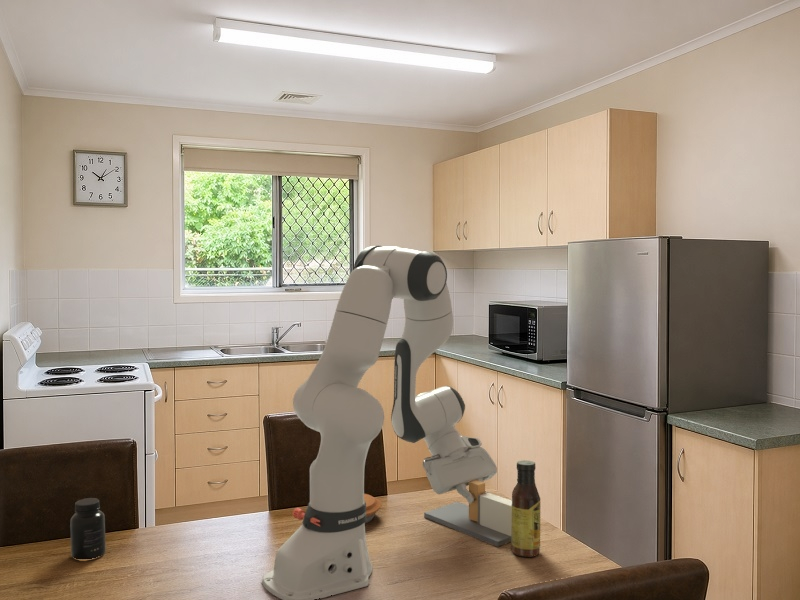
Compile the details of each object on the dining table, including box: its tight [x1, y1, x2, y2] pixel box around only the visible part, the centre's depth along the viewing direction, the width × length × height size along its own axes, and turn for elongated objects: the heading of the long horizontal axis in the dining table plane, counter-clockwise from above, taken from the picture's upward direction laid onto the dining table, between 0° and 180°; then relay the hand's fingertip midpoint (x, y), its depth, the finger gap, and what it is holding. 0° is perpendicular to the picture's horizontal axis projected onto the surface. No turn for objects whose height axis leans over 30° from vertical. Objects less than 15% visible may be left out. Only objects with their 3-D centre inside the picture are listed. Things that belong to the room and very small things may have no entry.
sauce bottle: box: [510, 459, 541, 558], centre depth 150 cm, size 7×6×20 cm
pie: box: [364, 493, 383, 524], centre depth 171 cm, size 15×16×5 cm
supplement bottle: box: [69, 497, 107, 559], centre depth 149 cm, size 7×7×12 cm
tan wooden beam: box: [468, 480, 486, 522], centre depth 166 cm, size 2×3×9 cm
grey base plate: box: [423, 491, 512, 548], centre depth 166 cm, size 12×24×8 cm, turn 41°
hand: (478, 499), depth 165 cm, fingers closed on tan wooden beam, 2 cm apart
